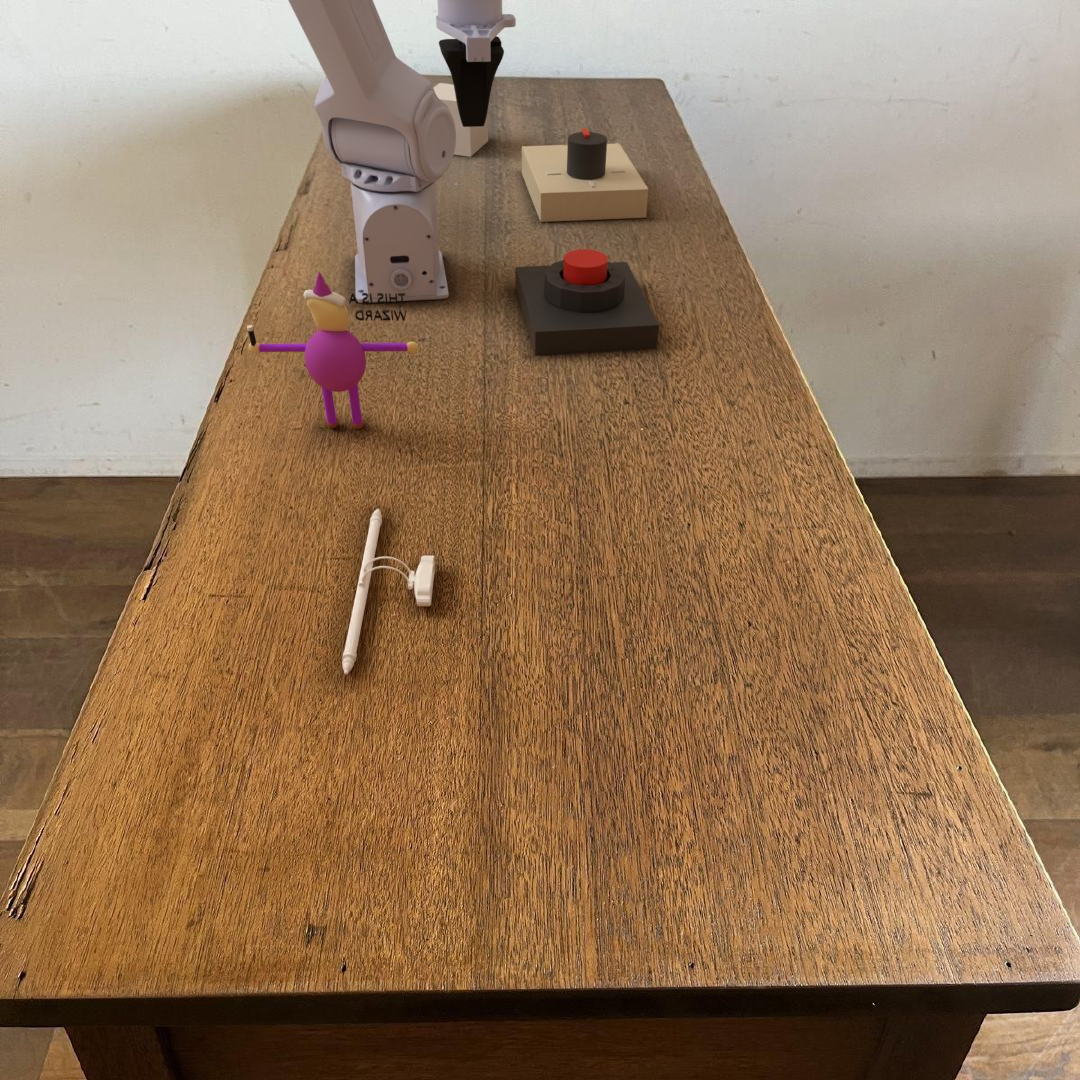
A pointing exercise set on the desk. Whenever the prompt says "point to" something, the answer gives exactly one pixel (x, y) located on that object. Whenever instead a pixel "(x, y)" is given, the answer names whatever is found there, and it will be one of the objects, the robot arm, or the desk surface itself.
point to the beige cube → (466, 137)
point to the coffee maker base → (584, 311)
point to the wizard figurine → (336, 347)
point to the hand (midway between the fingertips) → (472, 124)
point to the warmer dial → (586, 155)
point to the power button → (585, 267)
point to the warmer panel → (582, 186)
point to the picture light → (420, 582)
